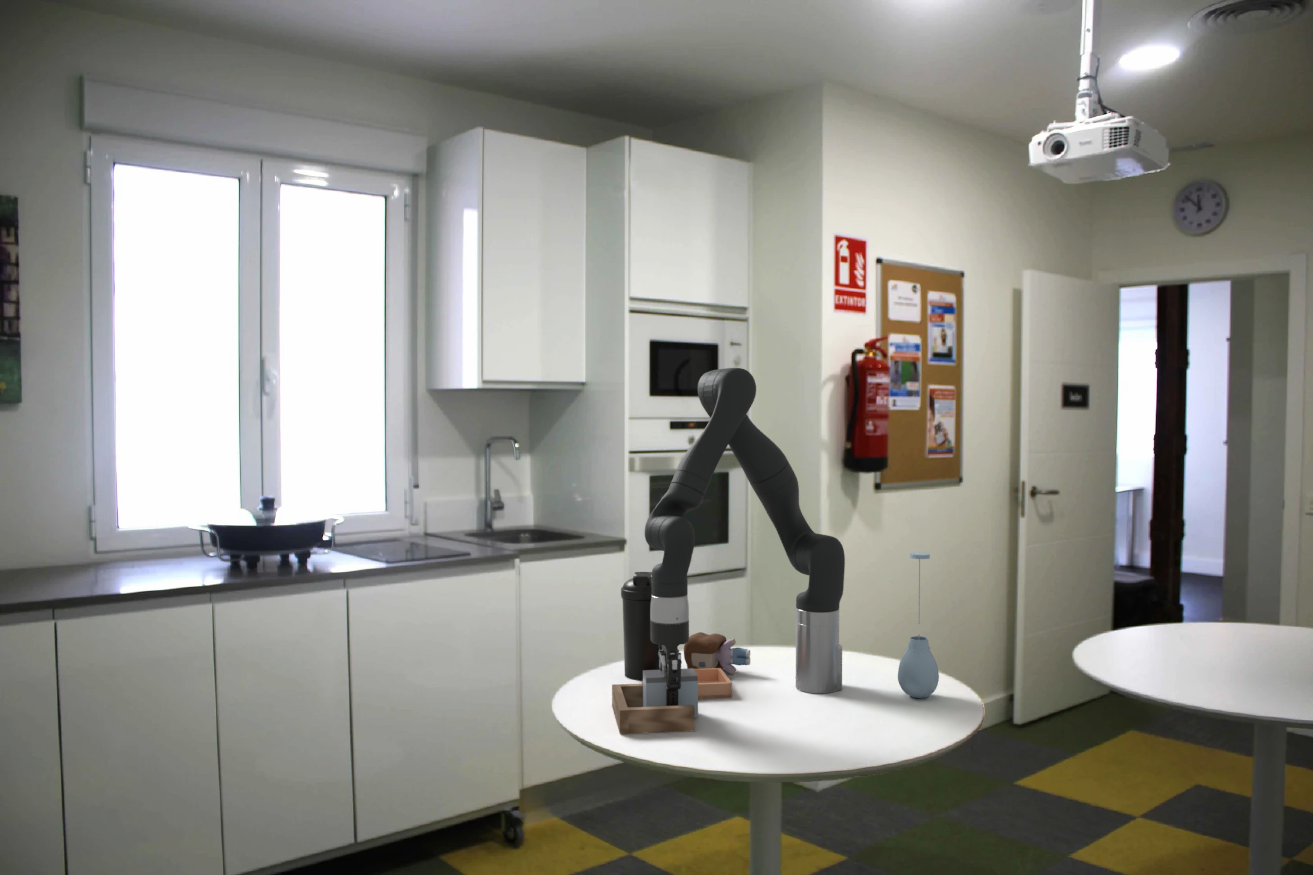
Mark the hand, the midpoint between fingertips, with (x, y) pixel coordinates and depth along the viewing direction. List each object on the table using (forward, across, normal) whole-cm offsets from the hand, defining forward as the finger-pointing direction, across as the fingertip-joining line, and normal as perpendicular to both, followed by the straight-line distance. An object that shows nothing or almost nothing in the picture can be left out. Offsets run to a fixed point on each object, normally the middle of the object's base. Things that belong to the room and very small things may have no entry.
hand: (670, 703), depth 189 cm
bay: (+3, 0, +4) cm, 5 cm away
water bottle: (+3, +31, +2) cm, 31 cm away
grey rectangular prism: (+2, 0, 0) cm, 2 cm away
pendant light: (+3, +7, -53) cm, 54 cm away
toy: (+3, +31, -15) cm, 34 cm away
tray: (+3, +17, -6) cm, 19 cm away
